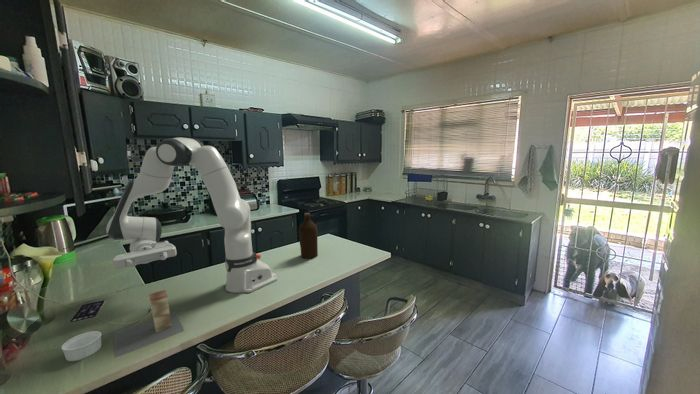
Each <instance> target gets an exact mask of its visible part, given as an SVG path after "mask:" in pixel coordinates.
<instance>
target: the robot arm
mask: <svg viewBox="0 0 700 394" xmlns="http://www.w3.org/2000/svg"><path fill="white" fill-rule="evenodd" d="M143 157H144V158H143V159H142V164H141V167H140V171H139V174H138V176H137V177H136V178H134V179H133V180H129V181H128V182H127V184H126V186H125V187H124V189H123V192H122V193H121V195H120V198H119V200H118V202H117V205H116V207H115V209H114V212H113V214H112V215H111V217H110V219H109V221H108V223H107V225H106V236H108V237H109V238H110V239H112V240H114V241H119V240H120V241H121V240H131V242H130V245H129V252H125V253H121V254H118V255H116V256H114V258H112V263H113V266H114V269H115V270H117V269H123V268H128V267H130V268H135V267H136V266H137V265H141V264H142V265H145V264H149V263H152V262H154V261H158V260H159V261H160V260H161V261H165V260H166V259H167V258H172V257H176V256H177V253H178V251H177V247H176V246H175V245H174V244H173V243H170V242H169V241H168V240H160V239H161V236H162V231H163V230H162V227H163V226H162V223H161V221H159V219H158V218H157V217H150V216H149V217H148V216H129V215H128V212H129V210H130V208H131V205H132V204H133V202H134V201H135V200H137V199H139V198H142V197H146V196H152V195H156V194H160V193H162V192H164V191H166V190H167V189H168V188H169V187H170V184H171V183H172V182H171V181H172V179H173V174H174V169H175V167H182V166H188V165H192V166H193V167H195V169H196V170H197V172H198V174H199V176H200V178H201V179H202V181H203V184H204V185H205V188H206V189H207V191H208V193H209V196H210V198H211V199H210V200H211V202H212V205H213V208H214V210H215V213H216V216H217V221H218V223H219V225H220V226H221V227H222V228H223V229H224V241H223V242H224V251H225V257H224V261H225V262H224V264H225V270H226V282H225V286H224V287H225V288H224V289H225V291H226V292H228V293H233V294H235V293H252V292H255V291H257V290H259V289H261V288H263V287H265V286H267V285H270V284H272V283H274V282H275V281H276V282H277V280H278V275H277V274H276V273H274V272H273V271H272V269H271V267H270V265H268V264H267V263H265V262H263V261H261V260H260V259H261V258H262V255H261V254H259V253H256V252H254V251H253V244H252V219H251V218H252V217H251V206H250V204H249V202H247V200H245V199H242V198H241V196H240V193H239V190H238V186H237V183H236V180H235V179H234V177H233V176H232V173H231V171H230V169H229V168H228V166H227V165H228V164H227V163H226V162H225V160H224V158H223V156H222V155H221V154H220V152H219V151H218V150H217V148H216V147H214V146H212V145H204V144H203V143H202V142H201V141H200V140H199V139H196V138H193V137H173V138H172V137H171V138H165V139H163V140H161V141H160V142H159V143H158V144H157V145H156V146H152V147H150V148H148V150H147V151H146V153H145V155H144V156H143Z"/></svg>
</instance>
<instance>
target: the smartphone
mask: <svg viewBox="0 0 700 394" xmlns="http://www.w3.org/2000/svg"><path fill="white" fill-rule="evenodd" d="M105 303H106V299H102V300H97V301H93V302H87V303H84V304H81V306H80V307H79V308H78V310H77V311H76V312H75V313H74V314H73V316H72V317H71V318H70V319H69V321H68V323H69V324H73V323H79V322H84V321H87V320H90V319H94V318H96V317H97V315H98V314H99V312H100V311H101V309H102V307H103V306H104V305H105Z"/></svg>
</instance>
